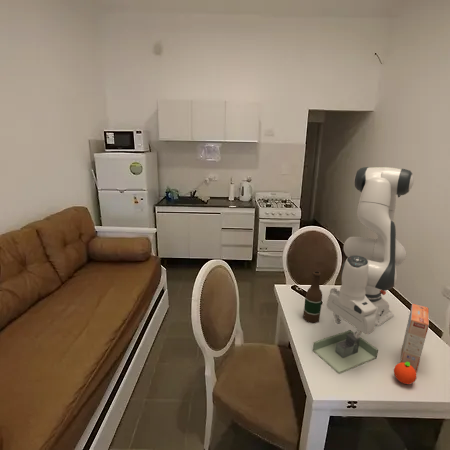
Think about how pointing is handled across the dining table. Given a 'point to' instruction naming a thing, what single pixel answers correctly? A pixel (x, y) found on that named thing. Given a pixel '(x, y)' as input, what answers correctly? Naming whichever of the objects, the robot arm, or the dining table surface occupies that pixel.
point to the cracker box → (415, 335)
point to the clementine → (405, 373)
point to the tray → (327, 353)
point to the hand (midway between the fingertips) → (346, 329)
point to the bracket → (348, 346)
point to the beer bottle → (313, 300)
